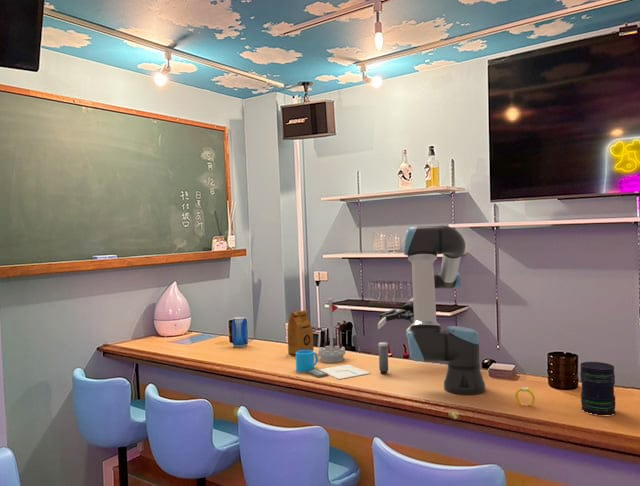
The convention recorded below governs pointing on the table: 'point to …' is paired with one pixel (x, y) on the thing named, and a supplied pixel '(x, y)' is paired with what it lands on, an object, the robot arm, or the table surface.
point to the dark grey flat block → (317, 373)
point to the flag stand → (331, 341)
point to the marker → (383, 357)
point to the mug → (305, 360)
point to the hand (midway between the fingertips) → (392, 329)
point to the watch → (527, 391)
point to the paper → (344, 372)
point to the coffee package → (299, 332)
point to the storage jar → (597, 388)
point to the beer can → (240, 332)
